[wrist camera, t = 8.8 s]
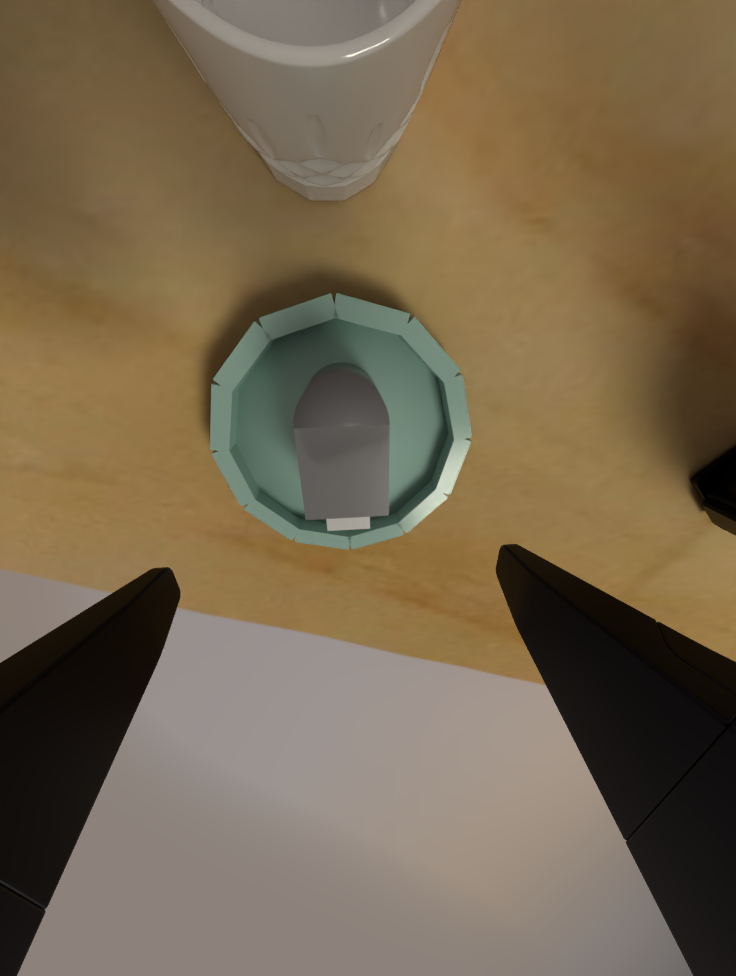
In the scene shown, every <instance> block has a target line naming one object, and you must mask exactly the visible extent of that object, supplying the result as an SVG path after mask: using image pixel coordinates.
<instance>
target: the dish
mask: <svg viewBox="0 0 736 976" xmlns="http://www.w3.org/2000/svg"><path fill="white" fill-rule="evenodd" d="M409 316H410V313H406V312H403V311H399V310H396V309H392V308H389V307H385V306H381V305H378V304H374V303H371V302H367V301H364V300H360V299H357V298H353V297H349V296H346V295H342V294H339V293H336V299H335V300H333V297H332V294H331V293H330V294H327V295H324V296H321V297H318V298H315V299H312V300H309V301H306V302H303V303H301V304H298V305H295V306H292V307H289V308H286V309H283V310H280V311H277V312H274V313H272V314H269V315H266V316H263V317H260V318H259V320H260V321H254V322H253V324H252V325H251V327H250V328H249V329H248V331H247V332H246V334H245V335H244V336H243V338H242V339H241V341H240V342H239V343H238V345H237V346H236V348H235V349H234V350H233V352H232V353H231V355H230V356H229V357H228V359H227V360H226V362H225V363H224V364H223V366H222V367H221V369H220V370H219V371H218V373H217V374H216V376H215V377H214V378H213V380H214V381H215V382H214V383H212V384H211V420H210V450H214V451H213V452H212V453H211V455H212V456H213V458H214V460H215V462H216V463H217V465H218V467H219V469H220V471H221V472H222V474H223V476H224V478H225V479H226V481H227V483H228V485H229V486H230V488H231V490H232V492H233V493H234V495H235V497H236V499H237V500H238V502H239V504H240V506H244V505H246V506H245V508H244V510H245V511H247V512H249V513H250V514H252V515H253V516H255V517H256V518H258V519H259V520H261V521H262V522H264V523H265V524H267V525H268V526H270V527H271V528H273V529H274V530H276V531H278V532H279V533H281V534H282V535H284V536H285V537H287V538H288V539H290V540H292V539H293V538H294V537H295V536H296V537H295V542H300V543H306V544H313V545H320V546H327V547H333V548H340V549H347V550H349V546H350V545H351V548H352V549H356V548H359V547H363V546H366V545H370V544H374V543H377V542H381V541H384V540H388V539H391V538H395V537H398V536H402V535H404V534H403V531H402V530H404V531H405V532H406V533H408V532H409V531H410V530H411V529H412V528H414V527H415V526H416V525H417V524H418V523H419V522H420V521H422V520H423V519H424V518H425V517H426V516H427V515H429V514H430V513H431V512H432V511H433V510H434V509H435V508H437V507H438V506H439V505H440V504H441V503H442V502H444V501H445V500H446V499H447V498H448V497H447V495H446V494H451V491H452V489H453V486H454V484H455V481H456V479H457V476H458V474H459V471H460V469H461V466H462V464H463V461H464V459H465V456H466V453H467V451H468V448H469V446H470V443H471V440H470V439H469V438H470V437H472V434H471V427H470V420H469V414H468V407H467V400H466V394H465V387H464V380H463V374H461V373H458V372H459V371H460V369H459V367H458V366H457V365H456V364H455V363H454V362H453V360H452V359H451V358H450V357H449V356H448V355H447V354H446V352H445V351H444V350H443V349H442V348H441V347H440V345H439V344H438V343H437V342H436V341H435V340H434V338H433V337H432V336H431V335H430V334H429V333H428V331H427V330H426V329H425V328H424V327H423V326H422V324H421V323H420V322H419V321H418V320H417V319H416V317H415V316H414V317H409ZM340 362H341V363H350V364H353V365H356V366H358V367H360V368H361V369H363V370H364V371H365V372H366V373H367V374H368V375H369V376H370V377H371V379H372V380H373V382H374V384H375V386H376V388H377V389H378V391H379V393H380V395H381V397H382V399H383V401H384V403H385V405H386V407H387V410H388V414H389V421H390V446H389V516H373V517H370V529H354V530H336V531H327V521H326V519H318V520H306V519H305V511H304V504H303V496H302V488H301V481H300V473H299V465H298V458H297V450H296V442H295V435H294V426H293V419H294V413H295V409H296V406H297V403H298V402H299V400H300V398H301V396H302V394H303V393H304V391H305V389H306V387H307V386H308V384H309V382H310V380H311V379H312V377H313V376H314V375H315V374H316V373H317V372H318V371H319V370H320V369H321V368H323V367H325V366H327V365H329V364H333V363H340Z"/></svg>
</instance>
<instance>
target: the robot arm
mask: <svg viewBox="0 0 736 976" xmlns="http://www.w3.org/2000/svg"><path fill="white" fill-rule="evenodd" d="M691 482H692V484H693V486H694V488H695V489H696V491H697V493H698V494H699V496H700V497H701V499H702V506H703V508H704V509H705V511H706V513H707V514H708V516H709V518H710V519H711V521H712V522H713V523H714V524H715V525H717V526H718V527H720V528H722V529H723V530H726V531H728V532H730V533H732V534H734V535H736V447H735V448H733V449H732V450H730V451H729V452H727V453H726V454H725V455H723V456H722V457H720V458H719V459H717V460H716V461H714V462H713V463H712V464H710V465H709V466H707V467H706V468H704V469H703V470H701V471H700V472H699V473H697V474H696V475H695V476H694V477H693V478H692V481H691ZM496 574H497V578H498V580H499V583H500V585H501V588H502V591H503V593H504V596H505V599H506V601H507V604H508V606H509V609H510V612H511V614H512V617H513V619H514V622H515V624H516V627H517V629H518V631H519V633H520V635H521V637H522V639H523V641H524V643H525V645H526V647H527V649H528V651H529V653H530V655H531V657H532V658H533V660H534V662H535V664H536V666H537V668H538V670H539V672H540V674H541V676H542V678H543V680H544V682H545V684H546V686H547V688H548V690H549V692H550V694H551V696H552V698H553V700H554V702H555V704H556V706H557V708H558V710H559V712H560V714H561V716H562V717H563V720H564V721H565V723H566V725H567V727H568V729H569V731H570V733H571V735H572V737H573V739H574V741H575V743H576V745H577V747H578V749H579V751H580V753H581V755H582V757H583V759H584V761H585V763H586V765H587V767H588V769H589V771H590V773H591V774H592V776H593V779H594V781H595V782H596V784H597V786H598V788H599V790H600V792H601V794H602V796H603V798H604V800H605V802H606V804H607V806H608V808H609V810H610V812H611V814H612V816H613V818H614V820H615V822H616V824H617V826H618V828H619V830H620V832H621V834H622V836H623V838H624V839H625V840H627V841H626V844H627V846H628V848H629V850H630V852H631V854H632V856H633V858H634V860H635V862H636V864H637V866H638V868H639V870H640V872H641V873H642V876H643V878H644V880H645V882H646V883H647V885H648V887H649V889H650V891H651V893H652V895H653V897H654V899H655V901H656V903H657V905H658V907H659V909H660V911H661V913H662V915H663V917H664V919H665V921H666V923H667V925H668V927H669V929H670V931H671V933H672V935H673V937H674V938H675V940H676V942H677V945H678V946H679V948H680V950H681V952H682V954H683V956H684V958H685V960H686V962H687V964H688V966H689V968H690V970H691V972H692V974H693V976H736V662H735V661H733V660H731V659H729V658H727V657H725V656H723V655H721V654H719V653H717V652H715V651H713V650H711V649H709V648H707V647H705V646H703V645H701V644H699V643H697V642H695V641H694V640H692V639H690V638H688V637H686V636H684V635H682V634H680V633H678V632H677V631H675V630H673V629H671V628H669V627H668V626H666V625H664V624H662V623H660V622H656V620H655V619H653V618H651V617H649V616H647V615H645V614H644V613H642V612H640V611H638V610H636V609H635V608H633V607H631V606H629V605H627V604H625V603H624V602H622V601H620V600H618V599H616V598H614V597H613V596H611V595H609V594H607V593H605V592H603V591H602V590H600V589H598V588H596V587H594V586H592V585H591V584H589V583H587V582H585V581H583V580H581V579H580V578H578V577H576V576H574V575H572V574H571V573H569V572H567V571H565V570H563V569H561V568H560V567H558V566H556V565H554V564H552V563H550V562H549V561H547V560H545V559H543V558H541V557H539V556H538V555H536V554H534V553H532V552H530V551H528V550H527V549H525V548H523V547H521V546H519V545H517V544H507V545H502V546H501V547H500V550H499V555H498V560H497V565H496ZM179 600H180V589H179V586H178V583H177V581H176V578H175V576H174V573H173V571H172V570H171V569H170V568H168V567H163V568H153V569H151V570H149V571H147V572H146V573H144V574H143V575H141V576H139V577H138V578H136V579H135V580H133V581H131V582H130V583H128V584H126V585H125V586H123V587H122V588H120V589H118V590H117V591H115V592H114V593H112V594H110V595H109V596H107V597H106V598H104V599H102V600H101V601H99V602H98V603H96V604H94V605H93V606H91V607H89V608H88V609H86V610H85V611H83V612H82V613H80V614H78V615H77V616H75V617H74V618H72V619H70V620H69V621H67V622H65V623H64V624H62V625H61V626H59V627H57V628H56V629H54V630H53V631H51V632H49V633H48V634H46V635H44V636H43V637H41V638H40V639H38V640H36V641H35V642H33V643H32V644H30V645H28V646H27V647H25V648H24V649H22V650H20V651H19V652H17V653H16V654H14V655H12V656H11V657H9V658H8V659H6V660H4V661H3V662H1V663H0V976H17V974H18V972H19V970H20V968H21V965H22V963H23V961H24V959H25V956H26V954H27V952H28V950H29V947H30V945H31V943H32V941H33V939H34V936H35V934H36V932H37V929H38V927H39V925H40V923H41V921H42V919H43V917H44V914H45V909H46V908H47V906H48V905H49V902H50V900H51V898H52V896H53V893H54V891H55V889H56V887H57V885H58V882H59V880H60V878H61V875H62V873H63V871H64V869H65V867H66V865H67V862H68V860H69V858H70V856H71V854H72V851H73V849H74V847H75V845H76V843H77V840H78V838H79V836H80V834H81V831H82V829H83V827H84V825H85V823H86V820H87V818H88V816H89V814H90V811H91V809H92V807H93V805H94V803H95V800H96V798H97V796H98V794H99V792H100V789H101V787H102V785H103V783H104V780H105V778H106V776H107V774H108V771H109V769H110V767H111V765H112V763H113V760H114V758H115V756H116V754H117V752H118V749H119V747H120V745H121V743H122V740H123V738H124V736H125V734H126V732H127V729H128V727H129V725H130V723H131V721H132V718H133V716H134V714H135V712H136V709H137V707H138V705H139V703H140V701H141V698H142V696H143V694H144V692H145V689H146V687H147V685H148V683H149V681H150V678H151V676H152V674H153V672H154V669H155V667H156V665H157V663H158V660H159V658H160V656H161V653H162V650H163V648H164V645H165V642H166V639H167V636H168V633H169V630H170V627H171V624H172V621H173V618H174V615H175V612H176V609H177V606H178V603H179Z"/></svg>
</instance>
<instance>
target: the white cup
mask: <svg viewBox="0 0 736 976" xmlns="http://www.w3.org/2000/svg"><path fill="white" fill-rule="evenodd" d="M152 1H153V3H154V4H155V6H156V7H157V9H158V10H159V12H160V14H161V15H162V17H163V18H164V20H165V21H166V23H167V24H168V26H169V27H170V29H171V31H172V32H173V34H174V35H175V37H176V38H177V40H178V41H179V43H180V44H181V46H182V48H183V49H184V51H185V52H186V54H187V55H188V57H189V58H190V60H191V62H192V63H193V65H194V66H195V68H196V69H197V71H198V73H199V74H200V76H201V77H202V79H203V80H204V82H205V83H206V84H207V86H208V87H209V89H210V90H211V91H212V93H213V94H214V95H215V97H216V98H217V99H218V101H219V102H220V104H221V106H222V107H223V109H224V110H225V112H226V113H227V115H228V116H229V117H230V119H231V120H232V121H233V122H234V124H235V126H236V127H237V129H238V130H239V131H240V133H241V134H242V136H243V137H244V138H245V139H246V141H247V142H248V143H249V144H250V145H251V146H252V147H253V148H254V149H255V150H256V152H257V153H258V154H259V156H260V157H261V159H262V160H263V161H264V163H265V164H266V166H267V167H268V169H269V170H270V171H271V173H272V174H273V176H274V177H275V179H276V180H277V181H279V182H280V183H282V184H284V185H285V186H287V187H289V188H290V189H292V190H294V191H295V192H297V193H299V194H300V195H302V196H303V197H305V198H307V199H308V200H310V201H345V200H347V199H348V198H350V197H352V196H353V195H355V194H356V193H358V192H360V191H361V190H363V189H364V188H366V187H368V186H369V185H371V184H372V183H374V182H375V181H376V179H377V178H378V176H379V174H380V173H381V171H382V169H383V168H384V166H385V164H386V163H387V161H388V159H389V158H390V156H391V155H392V153H393V151H394V150H395V148H396V146H397V144H398V142H399V140H400V138H401V136H402V134H403V132H404V130H405V128H406V126H407V124H408V122H409V120H410V118H411V116H412V114H413V112H414V109H415V107H416V105H417V103H418V100H419V98H420V96H421V94H422V92H423V89H424V87H425V85H426V83H427V81H428V79H429V77H430V75H431V72H432V70H433V68H434V65H435V63H436V61H437V58H438V56H439V53H440V51H441V49H442V46H443V44H444V41H445V39H446V37H447V34H448V32H449V29H450V27H451V25H452V22H453V20H454V17H455V15H456V13H457V10H458V8H459V5H460V3H461V1H462V0H152Z"/></svg>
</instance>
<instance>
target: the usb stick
mask: <svg viewBox="0 0 736 976" xmlns="http://www.w3.org/2000/svg"><path fill="white" fill-rule="evenodd" d="M293 426H294V435H295V442H296V450H297V458H298V465H299V473H300V481H301V488H302V496H303V504H304V511H305V519H306V520H318V519H326V521H327V531H336V530H354V529H370V517H373V516H389V446H390V421H389V414H388V410H387V407H386V405H385V403H384V401H383V399H382V397H381V395H380V393H379V391H378V389H377V388H376V386H375V384H374V382H373V380H372V379H371V377H370V376H369V375H368V374H367V373H366V372H365V371H364V370H363V369H361V368H360V367H358V366H356V365H353V364H350V363H341V362H340V363H333V364H329V365H327V366H325V367H323V368H321V369H320V370H319V371H318V372H317V373H316V374H315V375H314V376H313V377H312V379H311V380H310V382H309V384H308V386H307V387H306V389H305V391H304V393H303V394H302V396H301V398H300V400H299V402H298V403H297V406H296V409H295V413H294V419H293Z"/></svg>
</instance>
